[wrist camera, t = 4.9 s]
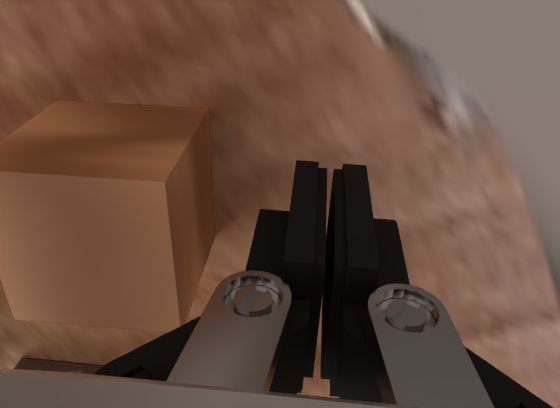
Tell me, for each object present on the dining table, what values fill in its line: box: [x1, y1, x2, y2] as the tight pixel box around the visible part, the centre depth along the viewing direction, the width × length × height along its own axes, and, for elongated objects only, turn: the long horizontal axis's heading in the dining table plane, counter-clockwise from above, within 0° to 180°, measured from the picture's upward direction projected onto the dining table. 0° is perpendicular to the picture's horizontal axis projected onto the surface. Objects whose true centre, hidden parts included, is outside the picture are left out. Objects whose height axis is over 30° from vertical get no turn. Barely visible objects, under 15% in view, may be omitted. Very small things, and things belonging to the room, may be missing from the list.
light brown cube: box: [0, 100, 215, 333], centre depth 12 cm, size 4×4×4 cm
